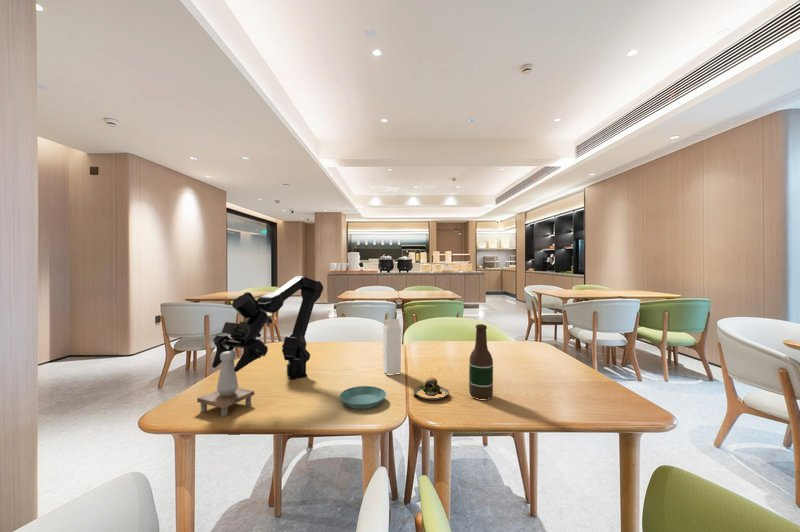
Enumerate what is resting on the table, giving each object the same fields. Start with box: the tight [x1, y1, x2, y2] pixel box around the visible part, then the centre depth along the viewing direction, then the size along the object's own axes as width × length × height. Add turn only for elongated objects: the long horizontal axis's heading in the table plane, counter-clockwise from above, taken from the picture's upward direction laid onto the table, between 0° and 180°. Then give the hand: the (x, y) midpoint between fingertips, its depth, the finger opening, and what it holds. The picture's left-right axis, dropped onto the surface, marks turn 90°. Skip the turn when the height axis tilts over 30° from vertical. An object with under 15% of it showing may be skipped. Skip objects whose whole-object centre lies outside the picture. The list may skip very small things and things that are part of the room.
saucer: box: [339, 385, 387, 410], centre depth 107 cm, size 15×15×3 cm
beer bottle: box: [468, 323, 494, 399], centre depth 112 cm, size 8×8×24 cm
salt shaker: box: [216, 350, 239, 397], centre depth 102 cm, size 6×6×13 cm
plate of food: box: [413, 376, 450, 400], centre depth 113 cm, size 12×12×8 cm
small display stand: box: [196, 387, 255, 418], centre depth 102 cm, size 11×11×4 cm
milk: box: [382, 318, 402, 374], centre depth 136 cm, size 6×6×22 cm
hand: (223, 369), depth 101 cm, fingers open, 9 cm apart
